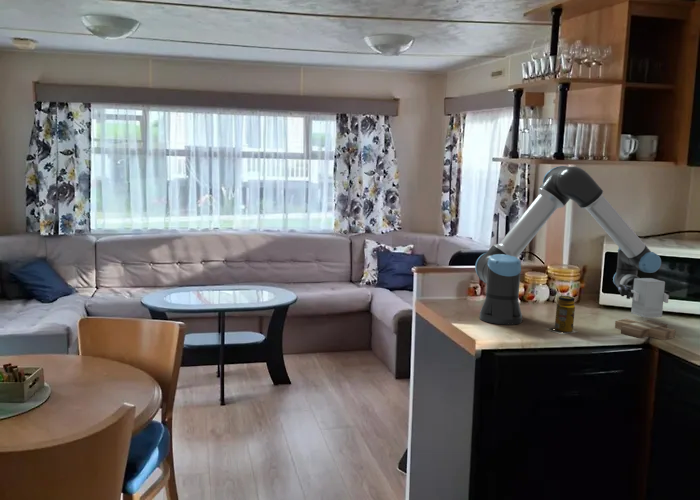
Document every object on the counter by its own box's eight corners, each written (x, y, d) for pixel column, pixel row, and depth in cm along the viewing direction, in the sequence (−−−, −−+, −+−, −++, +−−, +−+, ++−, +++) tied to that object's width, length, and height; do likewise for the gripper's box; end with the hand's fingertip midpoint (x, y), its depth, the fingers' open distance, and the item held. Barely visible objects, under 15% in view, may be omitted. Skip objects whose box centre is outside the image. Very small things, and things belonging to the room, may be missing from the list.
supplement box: (662, 317, 223) (666, 281, 222) (643, 318, 222) (646, 281, 220) (649, 312, 231) (652, 277, 229) (630, 312, 229) (633, 277, 228)
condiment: (578, 332, 225) (581, 298, 223) (562, 334, 220) (565, 300, 218) (561, 327, 231) (563, 294, 229) (545, 329, 226) (547, 296, 224)
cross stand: (655, 342, 215) (656, 334, 214) (606, 329, 229) (606, 322, 229) (682, 335, 226) (683, 327, 225) (633, 323, 240) (634, 316, 239)
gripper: (662, 297, 242) (684, 311, 220) (602, 294, 245) (618, 307, 223) (664, 277, 241) (687, 289, 219) (603, 274, 244) (619, 285, 222)
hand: (652, 298), depth 221 cm, fingers closed on supplement box, 9 cm apart
